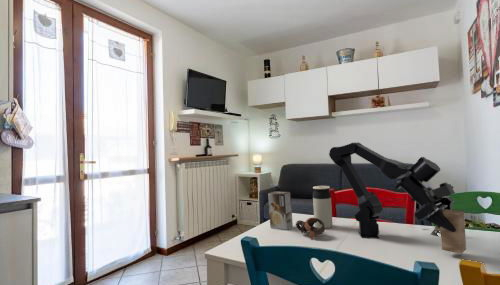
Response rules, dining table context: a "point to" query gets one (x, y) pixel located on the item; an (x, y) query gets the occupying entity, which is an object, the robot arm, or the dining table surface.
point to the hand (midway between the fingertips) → (457, 229)
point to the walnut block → (454, 239)
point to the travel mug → (322, 206)
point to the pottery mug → (310, 227)
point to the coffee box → (280, 210)
